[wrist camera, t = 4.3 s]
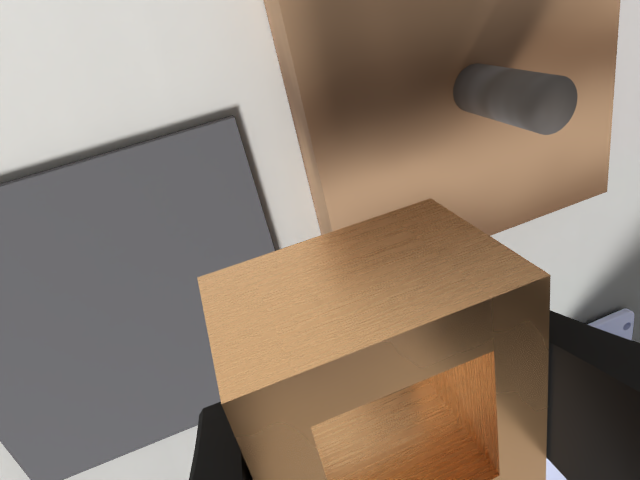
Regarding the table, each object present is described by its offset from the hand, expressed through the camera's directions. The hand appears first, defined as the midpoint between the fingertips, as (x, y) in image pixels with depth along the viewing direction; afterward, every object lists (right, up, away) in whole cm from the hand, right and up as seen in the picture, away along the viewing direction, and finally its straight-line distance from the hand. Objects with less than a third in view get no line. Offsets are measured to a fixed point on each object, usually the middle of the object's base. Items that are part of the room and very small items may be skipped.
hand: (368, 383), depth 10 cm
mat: (-8, 0, +9) cm, 12 cm away
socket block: (+4, +9, +9) cm, 13 cm away
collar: (-1, +1, +1) cm, 2 cm away
